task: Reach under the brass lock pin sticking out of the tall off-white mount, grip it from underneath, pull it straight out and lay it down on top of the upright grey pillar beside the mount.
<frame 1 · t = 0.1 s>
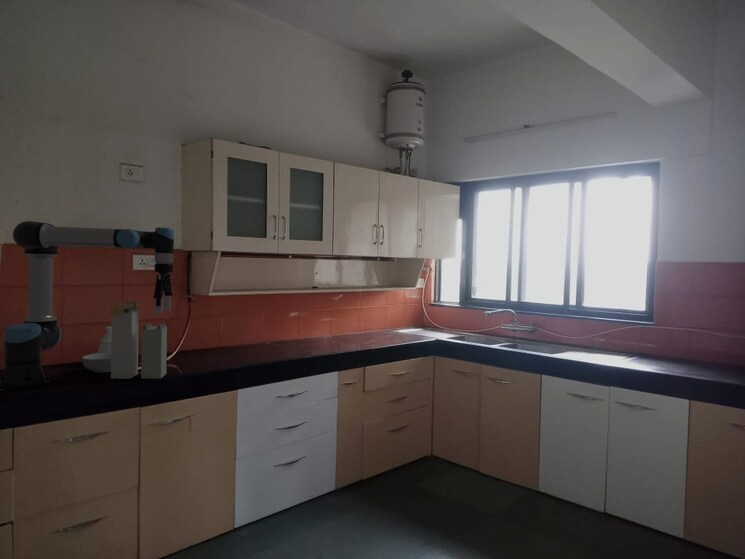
hand: (162, 312, 217), 28 cm above the counter, fingers open, 13 cm apart
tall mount: (124, 376, 215), on the counter
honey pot: (111, 364, 238), on the counter
cereal bowl: (104, 371, 224), on the counter
brass pin: (122, 312, 211), point 28 cm above the counter, touching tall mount
upright grey pillar: (153, 376, 217), on the counter
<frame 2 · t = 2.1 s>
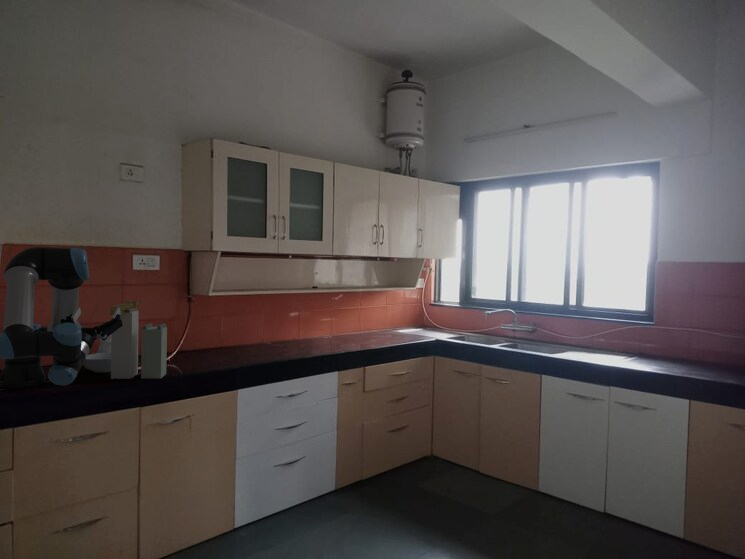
hand: (99, 310, 185), 32 cm above the counter, fingers open, 13 cm apart
nothing on the counter moved.
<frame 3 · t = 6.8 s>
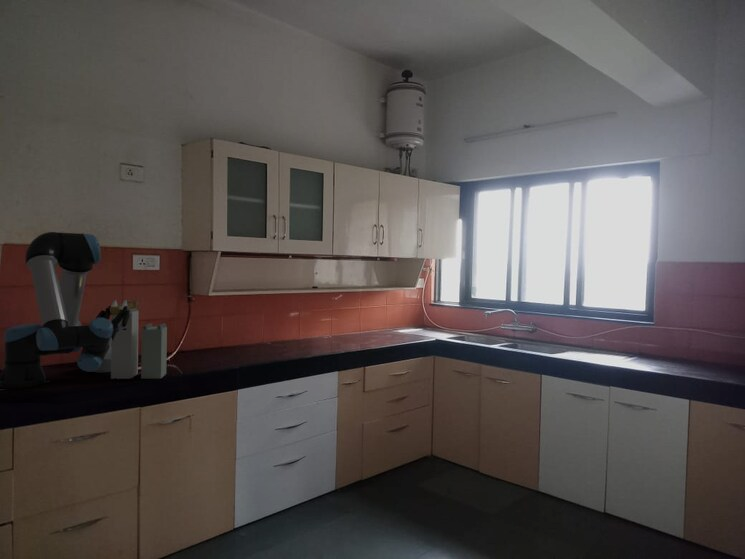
hand: (120, 302, 209), 32 cm above the counter, fingers closed on brass pin, 3 cm apart
brass pin: (122, 312, 211), point 28 cm above the counter, touching gripper, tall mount
everything else where it was.
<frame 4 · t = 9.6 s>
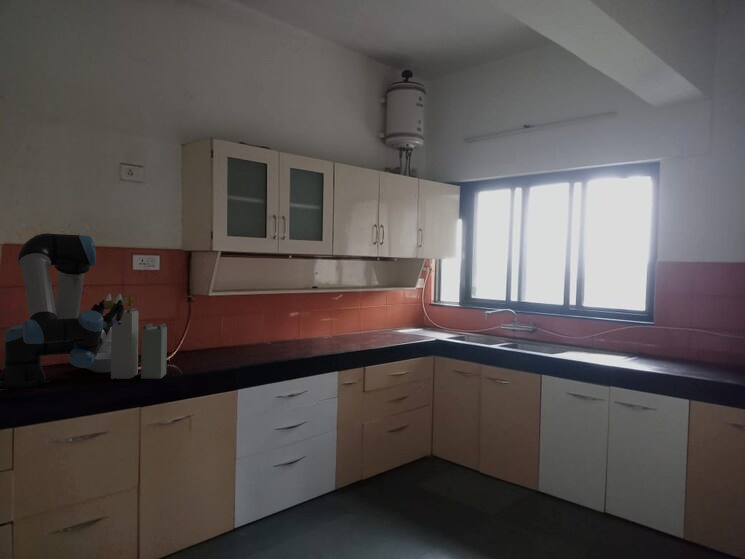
hand: (115, 296, 200), 36 cm above the counter, fingers closed on brass pin, 3 cm apart
brass pin: (117, 306, 203), point 31 cm above the counter, touching gripper
everything else where it was.
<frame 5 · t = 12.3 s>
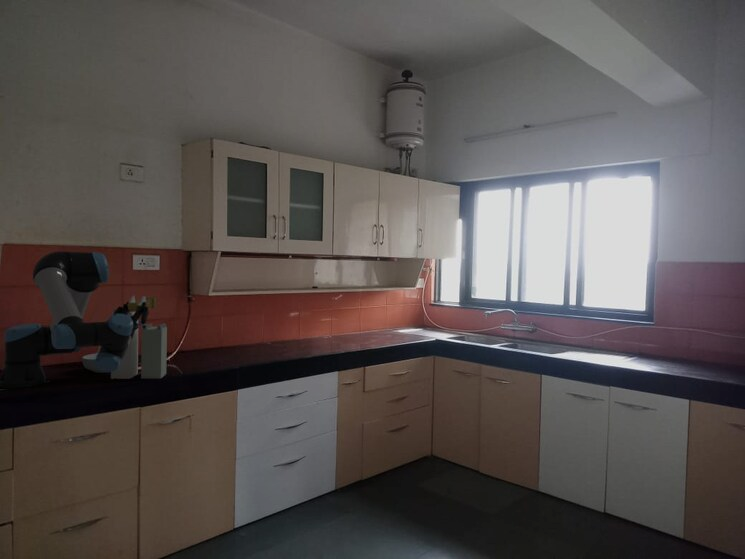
hand: (139, 298, 195), 35 cm above the counter, fingers closed on brass pin, 3 cm apart
brass pin: (140, 308, 198), point 31 cm above the counter, touching gripper
everything else where it was.
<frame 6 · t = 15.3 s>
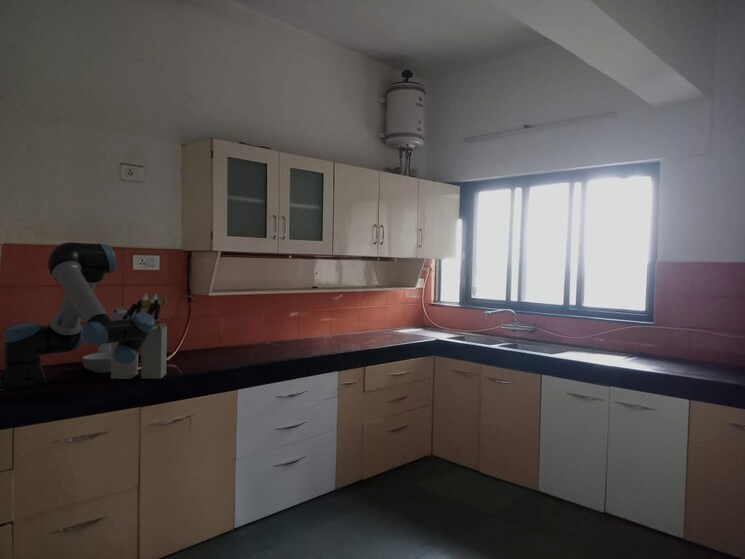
hand: (151, 296, 210), 35 cm above the counter, fingers closed on brass pin, 3 cm apart
brass pin: (152, 306, 212), point 31 cm above the counter, touching gripper
everything else where it was.
when the fingers open (26 cm above the counter, at t = 17.8 s): brass pin stays where it is, resting on upright grey pillar.
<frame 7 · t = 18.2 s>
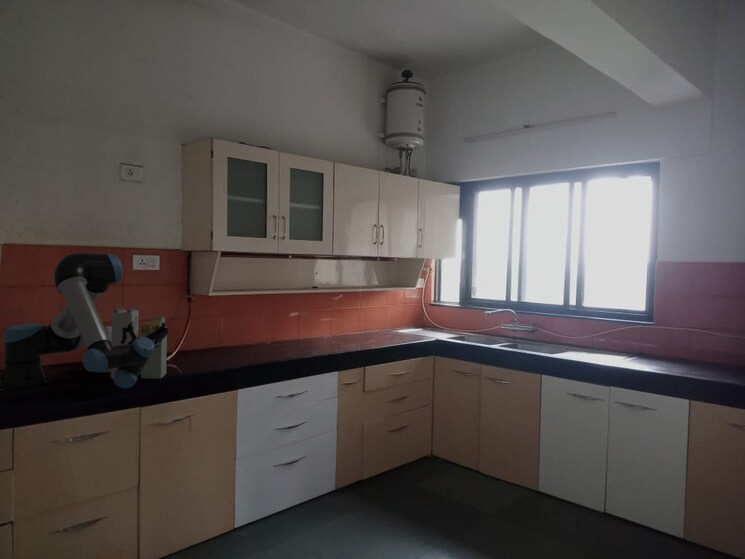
hand: (150, 319, 210), 26 cm above the counter, fingers open, 10 cm apart
brass pin: (152, 329, 213), point 21 cm above the counter, touching upright grey pillar
everything else where it was.
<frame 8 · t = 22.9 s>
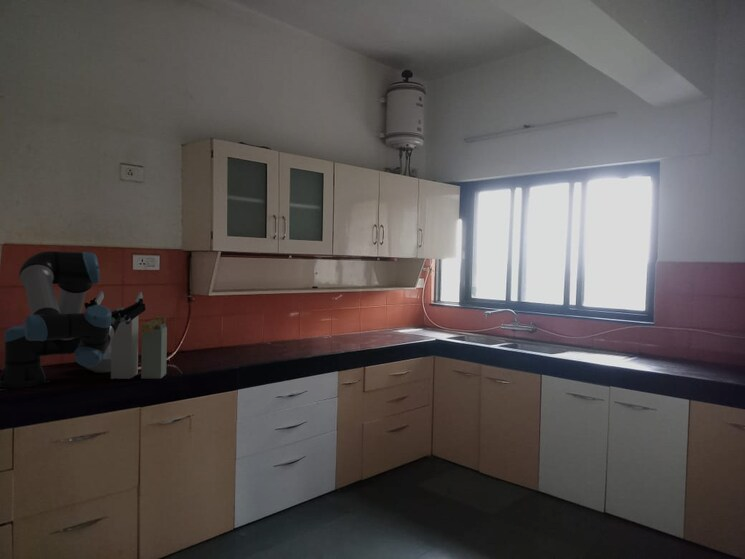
hand: (122, 294, 186), 38 cm above the counter, fingers open, 13 cm apart
nothing on the counter moved.
at the end: brass pin 0.1 cm from the target spot on the upright grey pillar, point 21.0 cm above the upright grey pillar's base; brass pin tilted 0°; the gripper is holding nothing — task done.
